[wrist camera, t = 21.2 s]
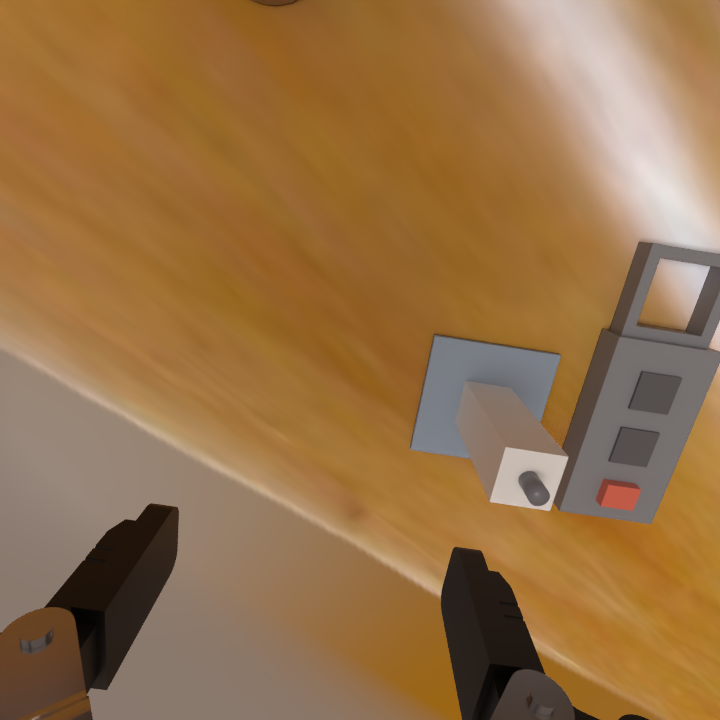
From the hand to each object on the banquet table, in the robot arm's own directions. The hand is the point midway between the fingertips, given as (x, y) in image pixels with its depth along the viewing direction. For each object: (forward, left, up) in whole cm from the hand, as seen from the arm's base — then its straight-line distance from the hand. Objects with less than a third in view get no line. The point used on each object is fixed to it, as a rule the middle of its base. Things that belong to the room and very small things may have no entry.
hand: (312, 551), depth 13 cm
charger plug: (+6, +14, -30) cm, 33 cm away
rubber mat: (+6, +14, -30) cm, 34 cm away
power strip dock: (+2, +28, -30) cm, 41 cm away
